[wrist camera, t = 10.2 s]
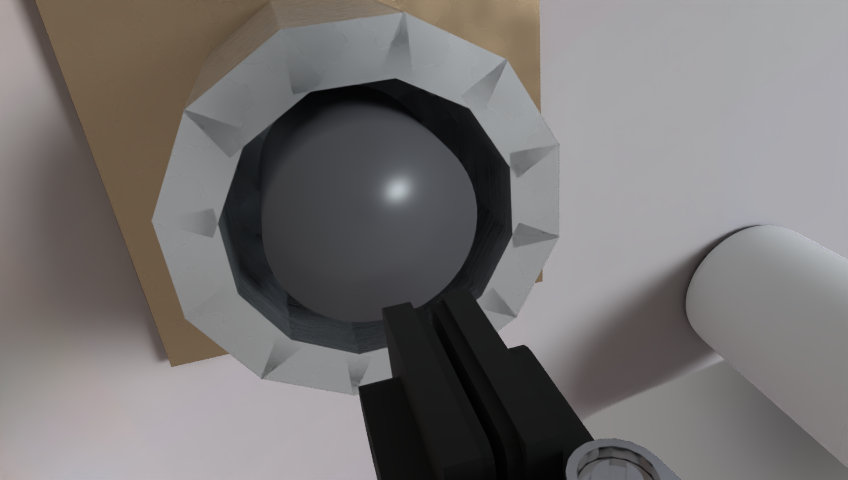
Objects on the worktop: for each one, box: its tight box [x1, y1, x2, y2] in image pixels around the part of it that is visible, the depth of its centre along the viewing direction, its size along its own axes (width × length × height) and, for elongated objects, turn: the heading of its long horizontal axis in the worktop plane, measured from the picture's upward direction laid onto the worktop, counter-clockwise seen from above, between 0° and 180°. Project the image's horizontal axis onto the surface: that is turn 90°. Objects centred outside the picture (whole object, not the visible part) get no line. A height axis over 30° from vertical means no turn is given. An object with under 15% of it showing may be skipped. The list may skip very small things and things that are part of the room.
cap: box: [259, 85, 477, 322], centre depth 19 cm, size 6×6×5 cm
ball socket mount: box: [35, 0, 559, 395], centre depth 21 cm, size 18×18×10 cm
